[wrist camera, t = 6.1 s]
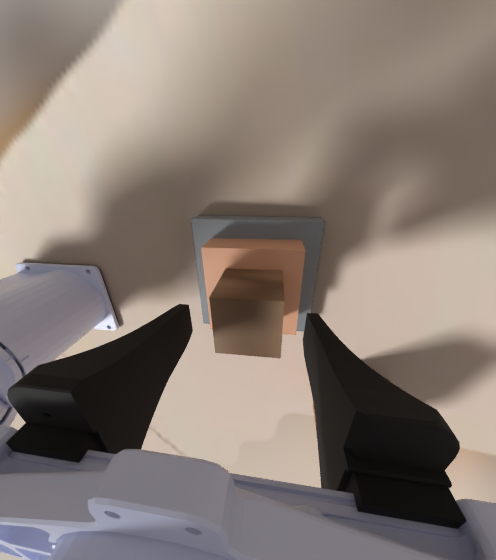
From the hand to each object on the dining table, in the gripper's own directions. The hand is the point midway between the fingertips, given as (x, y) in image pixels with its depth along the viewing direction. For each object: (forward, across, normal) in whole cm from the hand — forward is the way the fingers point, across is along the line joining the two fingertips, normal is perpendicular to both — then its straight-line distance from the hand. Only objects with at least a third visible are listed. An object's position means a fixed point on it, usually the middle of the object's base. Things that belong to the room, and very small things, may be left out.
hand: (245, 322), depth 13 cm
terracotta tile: (+6, 0, 0) cm, 6 cm away
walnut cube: (+3, 0, 0) cm, 3 cm away
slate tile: (+8, 0, 0) cm, 8 cm away
